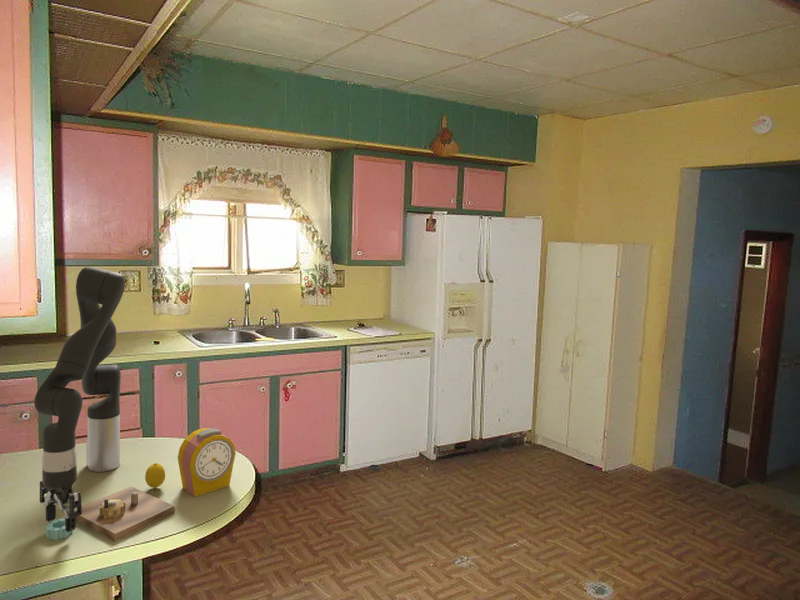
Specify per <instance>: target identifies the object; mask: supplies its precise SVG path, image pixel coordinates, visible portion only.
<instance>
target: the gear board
mask: <svg viewBox="0 0 800 600" xmlns="http://www.w3.org/2000/svg"><path fill="white" fill-rule="evenodd" d="M81 506H82V514H81V515H79V516H76V522H79V523H80V524H81V525H84V526H86V527H88V528H89V529H91V530H94V531H95V532H97V533H99V534H101V535H102V536H105V537H106V536H107V537H106V538H108V539H110V540H112V541H114V542H116V541H119V540H120V539H123V538H124V537H125V538H126V537H127V536H129V535H131V534H133V533H135V532H137V531H139V530H141V529H143V528H145V527H148V526H149V525H151V524H152V525H153V524H155V523H156V522H158V521H160V520H162V519H165V518H166V517H168V516H171V515H172V514H175V511H176V510H175V505H173V504H172V503H169V502H166V501H164V500H162V499H160V498H158V497H155V496H153V495H151V494H149V493H147V492H144V491H142V490H140V489H137V488H136V487H133V486H128V487H126V488H123V489H121V490H119V491H116V492H114V493H112V494H109V495H107V496H104V497H101V498H99V499H96V500H94V501H92V502H90V503H87V504H85V505H81ZM76 510H77V508H76Z"/></svg>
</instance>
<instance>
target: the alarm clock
mask: <svg viewBox="0 0 800 600" xmlns="http://www.w3.org/2000/svg"><path fill="white" fill-rule="evenodd" d="M235 457H236V448H235V444H234V442H233V441H232V440H231V438H229V437H227V436H225V435H224V434H223V433H222V430H220V429H218V428H210V427H208V428H207V427H202V428H199V429H196V430H194V431H192V432H191V433H190V434H189V435H187V436H186V438H185V437H184V440H183V441H182V443H181V445H180V447H179V449H178V454H177V462H178V467H179V474H180V480H181V485H182V488H183V489H184V490H186V491H187V492H188V493H190V495H192V496H193V497H198V496H200V495H203V494H204V495H205V494H207V492H208V493H210V492H213V490H214V491H216V489H217V490H220V489H223V488H226V487H229V486H230V483H231V478H232V473H233V468H234V467H233V466H234V463H235V459H236V458H235ZM228 485H229V486H228ZM225 486H226V487H225ZM222 487H223V488H222ZM219 488H220V489H219Z"/></svg>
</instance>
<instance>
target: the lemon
mask: <svg viewBox="0 0 800 600" xmlns="http://www.w3.org/2000/svg"><path fill="white" fill-rule="evenodd" d="M144 479H145V483H146V484H147V486H149V487H150V488H153V489H157V488H158V487H161V486H162V485H163V483H164V482H165V479H166V470H165V468H164V467H163V465H162V464H160V463H157V462H154V463H153V464H151V465H149V466H148V467H147V468H146V471H145V476H144Z"/></svg>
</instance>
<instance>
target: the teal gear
mask: <svg viewBox="0 0 800 600" xmlns="http://www.w3.org/2000/svg"><path fill="white" fill-rule="evenodd" d="M65 518H66V517H64V518H62V517H61V518H57V519H54V520H52V521H49V523H47V524H45V536H46V539H48V540H51V539H52V540H54V541H58V540H62V539H65V538H68V537H69V536H70V535H72V534H73V533H74V530H72V531H70V532H67V531H66V530H65Z"/></svg>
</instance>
